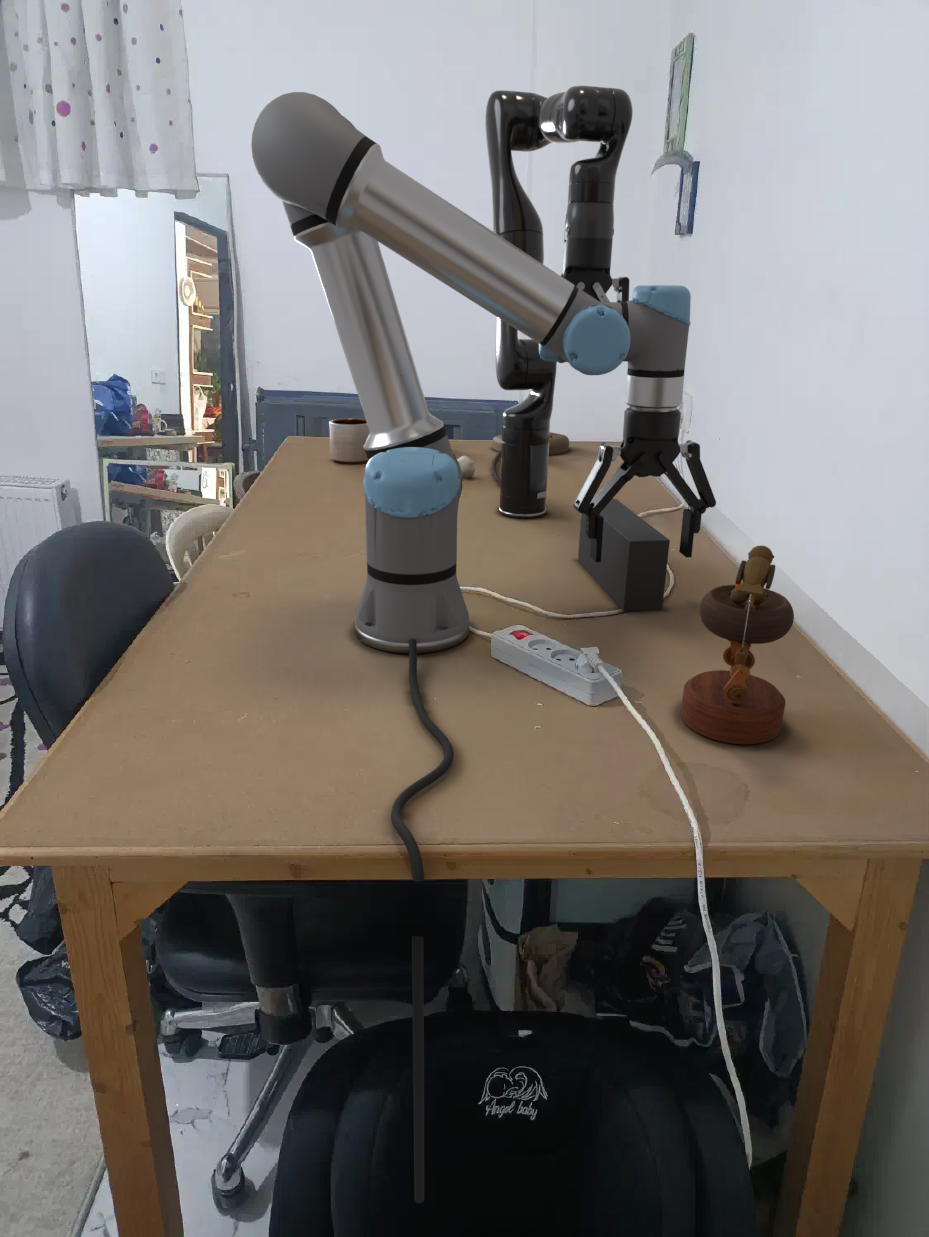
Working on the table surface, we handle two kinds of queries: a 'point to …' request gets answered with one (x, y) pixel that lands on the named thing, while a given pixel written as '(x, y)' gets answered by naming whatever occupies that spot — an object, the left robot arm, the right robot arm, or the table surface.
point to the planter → (348, 440)
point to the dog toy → (466, 466)
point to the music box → (740, 658)
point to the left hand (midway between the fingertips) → (640, 557)
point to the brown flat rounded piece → (556, 443)
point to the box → (628, 559)
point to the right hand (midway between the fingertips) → (581, 345)
